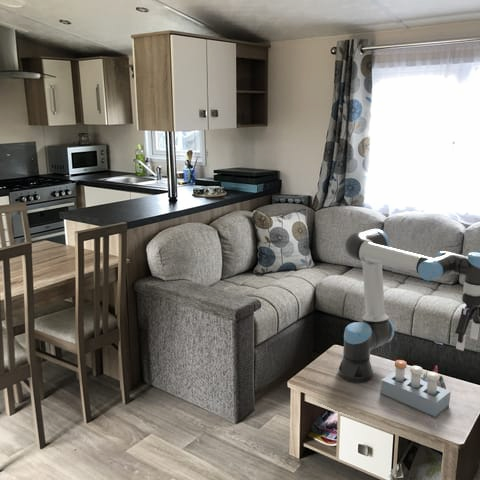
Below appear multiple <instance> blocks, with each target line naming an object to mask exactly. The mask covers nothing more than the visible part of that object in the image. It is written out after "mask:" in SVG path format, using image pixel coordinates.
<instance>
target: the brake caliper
mask: <svg viewBox="0 0 480 480" xmlns="http://www.w3.org/2000/svg"><path fill="white" fill-rule="evenodd" d="M428 372H429V371H426V372H424V373H423V374H422V375H421V379H420V380H423V381H426V382H428V379H427V373H428ZM432 372H435V373H438V374H439V372H438V365H435V366H434V368H433V370H432ZM445 383H446V382H445V380H444V377H443V375H439V380H438V381H437V386H438V387H441V388H444V389H446V390H447V387H446V384H445Z"/></svg>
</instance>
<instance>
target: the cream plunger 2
mask: <svg viewBox="0 0 480 480" xmlns="http://www.w3.org/2000/svg"><path fill="white" fill-rule="evenodd" d="M427 372H428V373H427V379H428V383H427V394H429V395H432V396H434V397H435V396H436V392H437V381H438V380H439V378H440V374H439V372H438V373H435V372H433V371H427Z"/></svg>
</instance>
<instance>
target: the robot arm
mask: <svg viewBox="0 0 480 480" xmlns="http://www.w3.org/2000/svg"><path fill="white" fill-rule="evenodd" d="M389 239H390V238H389V237H388V235H387V234H386V232H384V230H381V229H379V228H371V229H369V228H368V229H366V230H365V229H364V230H363V231H358V232H353V233H352V234H350V235H349V236H348V237H347V238H346V239H345V241H344V243H345V244H344V249H345V251H346V255H348V256H349V257H350V258H351V259H354V260H356V261H359V262H361V264H362V275H363V291H364V292H363V293H364V307H365V308H364V309H365V313H364V314H363V316H362V321H357V322H355V321H354V322H352V323H349V324H347V326H346V327H345V328H344V333H343V352H342V353H343V356H342V359H341V362H340V365H339V367H338V376H339V377H340V378H342V379H343V380H344V381H347V382H351V383H356V384H360V383H361V384H363V383H368V382H370V381H371V380H372V379H373V376H374V370H373V369H372V368H373V367H372V364H371V351H373V350H374V349H376V348H378V347H382V346H384V345H386V344H388V343H389V342H391V340H392V339H394V335H395V326H394V324H393V323H392V321H391V320H390V319H389V318H390V317H389V316H388V315H387V314H386V312H385V294H384V293H385V292H384V277H383V275H384V274H383V265H384V266H387V267H390V268H394V269H398V270H401V271H405V272H408V273H413V274H415V275H416V274H417V275H419V277H421V278H422V279H423V280H425V281H429V282H430V281H434V280H438V279H439V278H442V277H445V276H448V275H451V274H456V275H460V276H464V282H463V288H462V291H463V292H462V297H461V302H462V303H464V304H465V306H464V308H461V312H460V316H459V320H458V322H457V326H456V329H455V331H454V333H455V334H456V335H457V337H456V345H455V349H456V350H460V351H462V352H464V350H465V344H466V336H467V334H466V332H467V329H468V327H469V324H470V322H471V321H473V322H471V327H470V334H469V335H470V336H469V338H470V339H473V340H476V341H477V340H478V339H479V333H480V252H477V251H476V252H475V251H474V252H472V251H471V252H469V253H468V254H467V255H463V254H458V253H456V252H455V253H454V252H451V251H446V250H444V251H443V250H442V251H441V250H440V251H439V252H438V253H437V254H436V255H435V257H430V256H425V255H422V254H417V253H414V252H410V251H406V250H402V249H397V248H395V247H394V248H393V247H390V240H389Z"/></svg>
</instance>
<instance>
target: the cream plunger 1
mask: <svg viewBox="0 0 480 480" xmlns="http://www.w3.org/2000/svg"><path fill="white" fill-rule="evenodd" d="M409 372H410V376H411V385H410V387H412V388H414V389H417V390H419V389H420V380H422V379H421V376H422V375H423V367H421V366H419V365H412V366H411V367H410V371H409Z"/></svg>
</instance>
